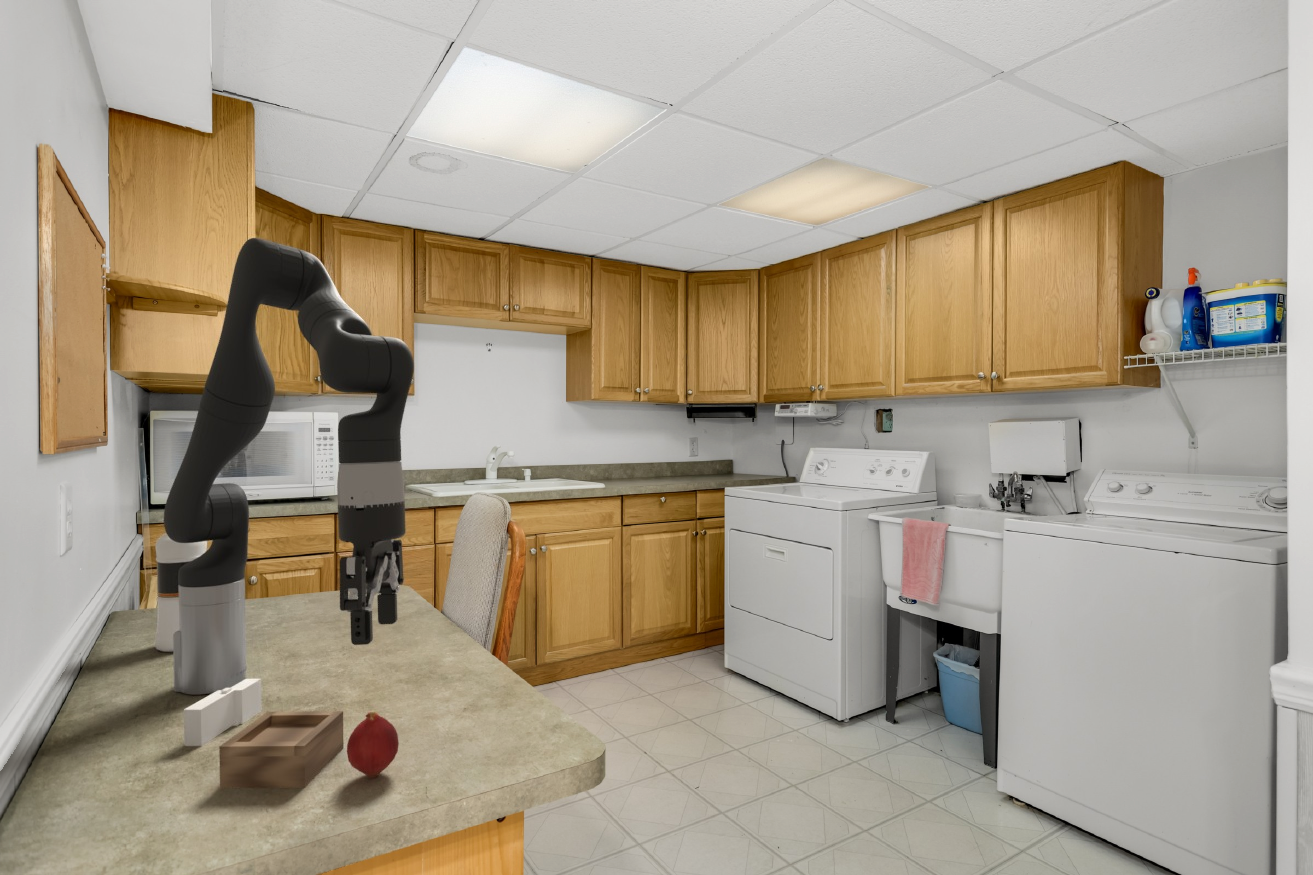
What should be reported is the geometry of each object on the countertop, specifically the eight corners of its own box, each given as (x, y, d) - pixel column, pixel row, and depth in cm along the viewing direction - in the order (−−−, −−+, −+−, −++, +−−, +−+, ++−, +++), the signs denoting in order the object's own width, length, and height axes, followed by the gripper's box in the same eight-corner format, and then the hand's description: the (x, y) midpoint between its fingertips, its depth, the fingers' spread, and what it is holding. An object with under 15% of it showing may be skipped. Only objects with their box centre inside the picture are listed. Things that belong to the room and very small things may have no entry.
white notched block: (181, 761, 89) (181, 716, 89) (155, 736, 96) (155, 695, 96) (302, 722, 100) (302, 683, 100) (271, 703, 107) (270, 666, 107)
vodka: (170, 656, 129) (167, 496, 129) (144, 648, 134) (141, 494, 133) (221, 642, 137) (218, 492, 137) (195, 636, 142) (193, 490, 141)
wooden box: (220, 790, 81) (219, 746, 81) (267, 750, 91) (267, 711, 91) (305, 789, 81) (304, 745, 81) (343, 750, 91) (343, 710, 91)
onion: (357, 765, 86) (356, 701, 86) (404, 763, 87) (403, 699, 86) (340, 789, 80) (338, 721, 80) (390, 787, 81) (389, 719, 81)
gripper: (362, 495, 90) (366, 619, 91) (313, 506, 76) (317, 652, 76) (420, 493, 91) (424, 616, 91) (382, 504, 77) (386, 650, 77)
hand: (375, 633), depth 84 cm, fingers open, 8 cm apart
